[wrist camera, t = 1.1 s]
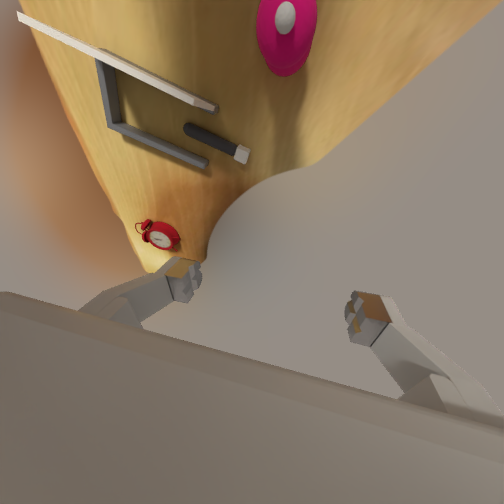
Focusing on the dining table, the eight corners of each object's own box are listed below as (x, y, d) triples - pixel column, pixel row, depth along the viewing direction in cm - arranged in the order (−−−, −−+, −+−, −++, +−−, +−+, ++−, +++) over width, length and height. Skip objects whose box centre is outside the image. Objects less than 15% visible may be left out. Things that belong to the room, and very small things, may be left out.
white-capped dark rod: (185, 132, 40) (180, 135, 39) (186, 119, 39) (181, 121, 37) (247, 160, 43) (245, 164, 41) (250, 149, 41) (249, 153, 39)
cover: (93, 51, 31) (92, 45, 31) (213, 111, 34) (214, 106, 34) (18, 20, 22) (16, 11, 21) (193, 105, 25) (194, 98, 25)
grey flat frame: (105, 49, 33) (92, 47, 31) (219, 105, 36) (214, 107, 34) (117, 124, 41) (107, 127, 39) (207, 165, 45) (203, 169, 43)
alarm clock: (177, 255, 66) (131, 247, 61) (180, 243, 70) (137, 234, 66) (179, 236, 59) (127, 225, 54) (183, 223, 63) (135, 212, 58)
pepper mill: (293, 85, 32) (295, 92, 18) (257, 61, 31) (231, 47, 17) (320, 28, 28) (352, -24, 13) (280, -5, 26) (268, -101, 12)
